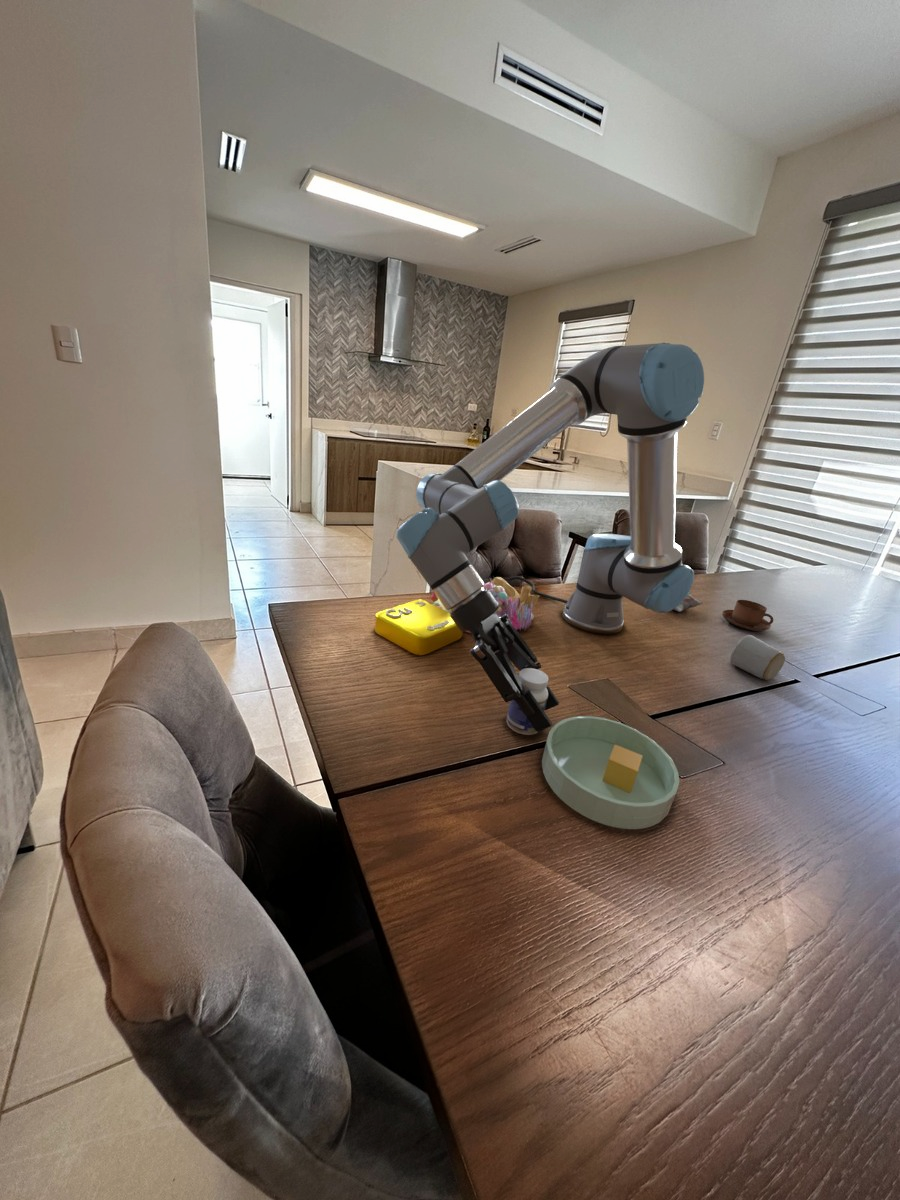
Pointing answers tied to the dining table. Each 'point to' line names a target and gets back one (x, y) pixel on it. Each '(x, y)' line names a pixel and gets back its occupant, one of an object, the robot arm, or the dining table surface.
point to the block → (622, 768)
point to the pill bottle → (537, 686)
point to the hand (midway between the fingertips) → (548, 716)
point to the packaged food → (687, 603)
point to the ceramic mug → (757, 658)
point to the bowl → (580, 768)
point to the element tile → (417, 627)
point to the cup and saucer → (748, 616)
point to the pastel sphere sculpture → (507, 602)
